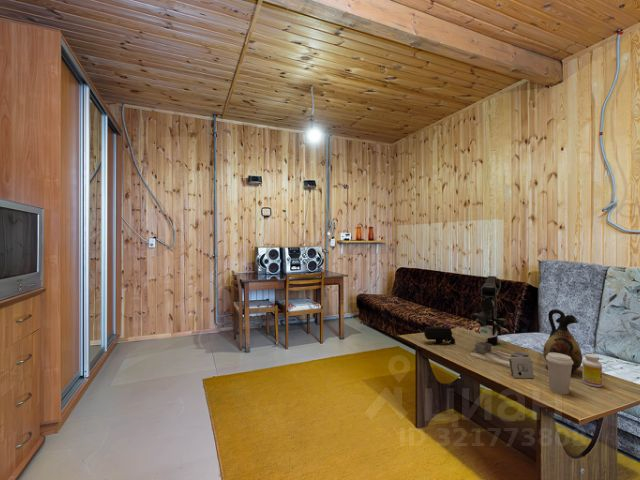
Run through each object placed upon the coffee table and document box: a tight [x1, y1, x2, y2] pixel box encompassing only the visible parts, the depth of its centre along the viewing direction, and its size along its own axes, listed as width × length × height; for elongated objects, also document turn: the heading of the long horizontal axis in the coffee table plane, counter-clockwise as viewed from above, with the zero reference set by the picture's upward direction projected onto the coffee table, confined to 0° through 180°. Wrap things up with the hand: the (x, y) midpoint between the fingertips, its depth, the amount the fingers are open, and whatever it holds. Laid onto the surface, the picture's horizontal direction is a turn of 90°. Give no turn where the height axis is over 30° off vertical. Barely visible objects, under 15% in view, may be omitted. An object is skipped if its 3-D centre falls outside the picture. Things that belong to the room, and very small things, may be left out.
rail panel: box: [469, 341, 533, 369], centre depth 169 cm, size 18×24×6 cm
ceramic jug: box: [542, 308, 583, 375], centre depth 155 cm, size 17×15×30 cm
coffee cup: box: [545, 353, 574, 395], centre depth 133 cm, size 10×10×15 cm
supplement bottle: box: [581, 353, 603, 388], centre depth 140 cm, size 7×7×13 cm
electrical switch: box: [509, 356, 535, 379], centre depth 148 cm, size 9×5×9 cm, turn 90°
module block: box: [479, 326, 497, 339], centre depth 177 cm, size 8×5×5 cm, turn 119°
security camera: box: [423, 326, 456, 345], centre depth 194 cm, size 7×18×10 cm, turn 89°
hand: (488, 334), depth 177 cm, fingers closed on module block, 5 cm apart
